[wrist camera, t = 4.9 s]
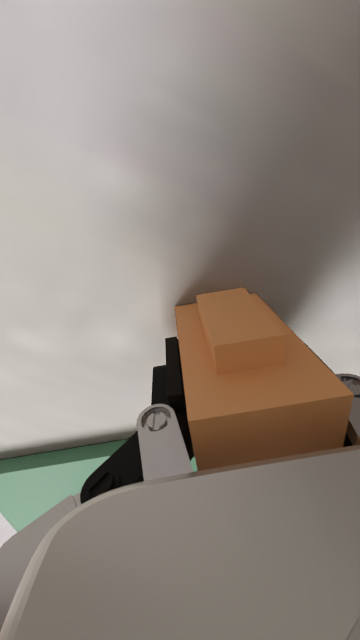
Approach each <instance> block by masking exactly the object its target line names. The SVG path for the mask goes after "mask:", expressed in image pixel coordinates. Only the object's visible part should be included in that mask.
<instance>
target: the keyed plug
mask: <svg viewBox="0 0 360 640" xmlns="http://www.w3.org/2000/svg"><path fill="white" fill-rule="evenodd" d="M196 298H197V303H193V304H187V305H181V306H175V314H176V323H177V331H178V340H179V349H180V357H181V366H182V374H183V383H184V391H185V400H186V409H187V417H188V424H189V429H190V434H191V439H192V445H193V450H194V455H195V460H196V465H197V470H198V471H201V470H207V469H213V468H219V467H225V466H231V465H237V464H243V463H249V462H255V461H261V460H267V459H273V458H279V457H285V456H292V455H298V454H304V453H310V452H316V451H322V450H329V449H335V448H341V447H343V445H344V440H345V435H346V430H347V425H348V421H349V416H350V411H351V406H352V401H353V397H354V394H353V393H352V392H351V391H350V390H349V389H348V388H347V387H346V386H345V385H344V384H343V383H342V382H341V381H340V380H339V379H338V377H337V376H336V375H335V374H334V373H333V372H332V371H331V370H330V369H329V368H328V367H327V366H326V365H325V364H324V363H323V362H322V361H321V360H320V359H319V358H318V357H317V356H316V355H315V354H314V353H313V352H312V351H311V350H310V349H309V348H308V347H307V346H306V344H305V343H304V342H303V341H302V340H301V339H300V338H299V337H298V336H297V335H296V334H295V333H294V332H293V331H292V330H291V329H290V328H289V327H288V326H287V325H286V324H285V323H284V322H283V321H282V320H281V319H280V318H279V317H278V316H277V315H276V314H275V313H274V311H273V310H272V309H271V308H270V307H269V306H268V305H267V304H266V303H265V302H264V301H263V300H262V299H261V298H260V297H259V296H258V295H257V294H256V293H253V294H249V293H248V292H247V290H246V289H245V288H244V287H241V288H235V289H229V290H223V291H217V292H211V293H205V294H199V295H196Z"/></svg>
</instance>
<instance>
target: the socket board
mask: <svg viewBox="0 0 360 640" xmlns="http://www.w3.org/2000/svg"><path fill="white" fill-rule="evenodd" d="M127 440H128V439H125V440H119V441H113V442H107V443H101V444H95V445H89V446H83V447H77V448H70V449H64V450H58V451H52V452H46V453H40V454H34V455H28V456H22V457H16V458H10V459H4V460H0V512H1V514H2V515H3V516H4V517H5V518H6V519H7V521H8V522H9V523H10V524H11V525H12V526H13V527H14V529H15V530H16V531H17V532H19V531H20V530H22V529H23V528H25V527H26V526H27V525H29V524H30V523H32V522H33V521H34V520H36V519H37V518H39V517H40V516H41V515H43V514H44V513H45V512H47V511H48V510H50V509H51V508H52V507H54V506H55V505H57V504H58V503H59V502H61V501H62V500H64V499H65V498H66V497H68V496H69V495H71V494H72V496H73V497H74V496H75V495H76V494H78V493H79V492H81V489H82V486H83V485H84V483H85V481H86V479H87V478H88V477H89V476H90V475H91V474H92V473H93V472H94V471H95V470H96V469H97V468H98V467H99V466H100V465H101V464H103V463H104V462H105V461H106V460H107V459H108V458H109V457H110V456H111V455H112V454H113V453H114V452H115V451H116V450H118V449H119V448H120V447H121V446H122V445H123V444H124V443H125V442H126V441H127ZM190 462H191V465H192V469H193V472H195V471H198V470H197V465H196V460H195V457H193V458H192V460H191V461H190Z"/></svg>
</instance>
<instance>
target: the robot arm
mask: <svg viewBox="0 0 360 640" xmlns="http://www.w3.org/2000/svg"><path fill="white" fill-rule="evenodd" d="M165 341H166V365H163V366H157V367H154V368H153V382H152V403H151V406H149V407H147V408H146V409H144V410H143V411H142V412H141V413H140V415H139V417H138V419H137V430H138V431H137V432H136V433H135V434H134V435H133V436H131V437H130V438H129V439H128V440H127V441H126V442H125V443H124V444H123V445H122V446H121V447H120V448H119V449H118V450H116V451H115V452H114V453H113V454H112V455H111V456H110V457H109V458H108V459H107V460H106V461H105V462H104V463H103V464H101V465H100V466H99V467H98V468H97V469H96V470H95V471H94V472H93V473H92V474H91V475H90V476H89V477H88V478H87V479H86V481H85V483H84V485H83V486H82V489H81V492H79V493H78V494H76V495H75V496H74V497H73V496H72V494H71V495H69V496H68V497H66V498H65V499H64V500H62V501H61V502H59V503H58V504H57V505H55V506H54V507H52V508H51V509H50V510H48V511H47V512H45V513H44V514H43V515H41V516H40V517H39V518H37V519H36V520H34V521H33V522H32V523H30V524H29V525H27V526H26V527H25V528H23V529H22V530H20V531H19V532H18V533H16V534H15V535H13V536H12V537H11V538H10V539H9V540H8V541H6V542H5V543H4V544H3V545H2V547H1V548H0V640H360V377H359V376H357V375H352V374H343V373H342V374H336V376H337V377H338V379H339V380H340V381H341V382H342V383H343V384H344V385H345V386H346V387H347V388H348V389H349V390H350V391H351V392H352V393H353V394H354V397H353V401H352V406H351V411H350V416H349V421H348V425H347V430H346V435H345V440H344V445H343V447H341V448H335V449H329V450H322V451H316V452H310V453H304V454H298V455H292V456H285V457H279V458H273V459H267V460H261V461H255V462H249V463H243V464H237V465H231V466H225V467H219V468H213V469H207V470H201V471H195V472H193V469H192V465H191V462H190V461H191V460H192V458H193V457H195V455H194V450H193V445H192V439H191V434H190V429H189V424H188V417H187V409H186V400H185V391H184V383H183V374H182V366H181V357H180V349H179V340H178V339H177V337H171V338H166V339H165ZM306 346H307V345H306ZM307 347H308V346H307ZM308 348H309V347H308ZM309 349H310V348H309ZM310 350H311V349H310ZM311 351H312V350H311ZM312 352H313V351H312ZM313 353H314V352H313ZM314 354H315V353H314ZM315 355H316V354H315ZM316 356H317V355H316ZM317 357H318V356H317ZM318 358H319V357H318ZM319 359H320V358H319ZM320 360H321V359H320ZM321 361H322V360H321ZM322 362H323V361H322ZM323 363H324V362H323ZM324 364H325V363H324ZM325 365H326V364H325ZM326 366H327V365H326ZM327 367H328V366H327ZM328 368H329V367H328ZM329 369H330V368H329ZM330 370H331V369H330ZM331 371H332V370H331Z"/></svg>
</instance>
